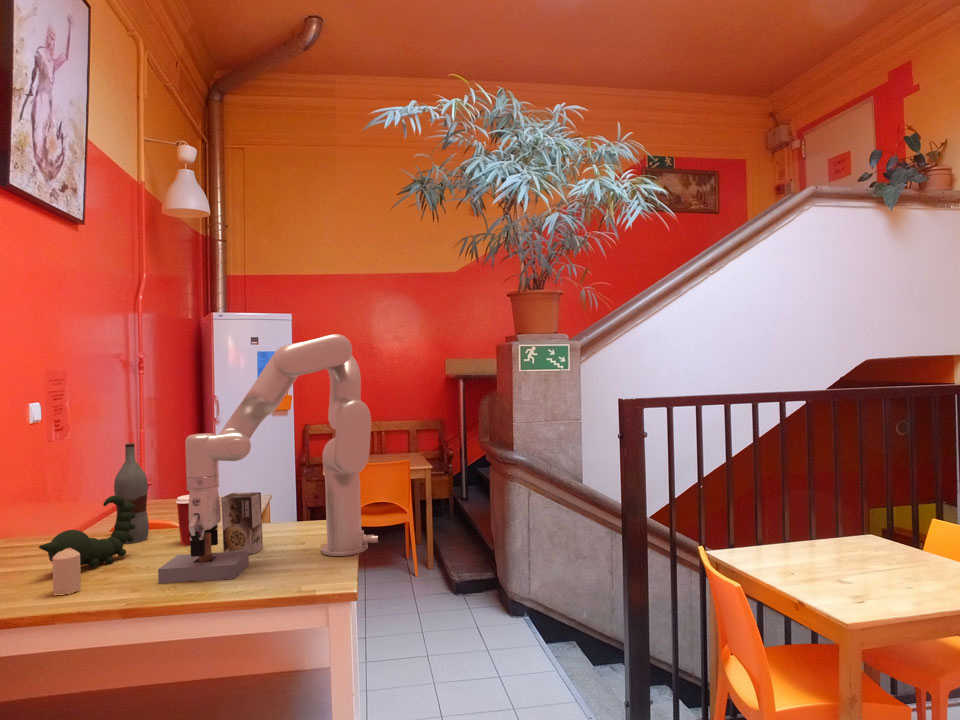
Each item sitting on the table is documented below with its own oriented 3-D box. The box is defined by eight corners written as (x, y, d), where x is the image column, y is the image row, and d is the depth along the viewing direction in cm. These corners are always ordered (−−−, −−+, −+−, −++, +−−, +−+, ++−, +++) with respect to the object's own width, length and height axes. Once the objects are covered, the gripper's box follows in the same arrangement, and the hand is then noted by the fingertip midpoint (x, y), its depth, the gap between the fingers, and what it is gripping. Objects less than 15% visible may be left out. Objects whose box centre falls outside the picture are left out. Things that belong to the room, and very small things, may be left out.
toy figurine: (117, 559, 182) (25, 579, 160) (121, 492, 184) (30, 502, 162) (140, 562, 179) (48, 583, 156) (144, 494, 180) (53, 504, 158)
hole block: (248, 564, 168) (248, 550, 168) (234, 579, 156) (234, 564, 156) (177, 568, 166) (177, 554, 166) (158, 583, 154) (158, 569, 154)
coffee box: (263, 548, 183) (262, 491, 183) (253, 554, 177) (251, 496, 177) (233, 548, 184) (231, 492, 184) (222, 554, 178) (220, 496, 178)
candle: (61, 588, 153) (60, 547, 153) (85, 587, 154) (84, 545, 154) (48, 596, 148) (47, 553, 148) (73, 595, 148) (71, 552, 148)
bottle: (108, 544, 194) (105, 445, 194) (130, 536, 202) (128, 441, 203) (134, 545, 192) (131, 445, 192) (156, 537, 200) (153, 441, 201)
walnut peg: (213, 571, 163) (212, 532, 163) (209, 575, 160) (208, 535, 160) (201, 572, 162) (200, 532, 163) (197, 575, 159) (196, 535, 160)
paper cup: (210, 541, 193) (209, 494, 193) (186, 547, 186) (185, 499, 187) (194, 538, 197) (193, 493, 197) (171, 544, 191) (170, 497, 191)
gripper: (206, 488, 153) (208, 559, 153) (228, 476, 170) (230, 540, 170) (173, 489, 152) (176, 561, 152) (199, 477, 170) (201, 542, 169)
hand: (204, 550), depth 161 cm, fingers open, 9 cm apart
